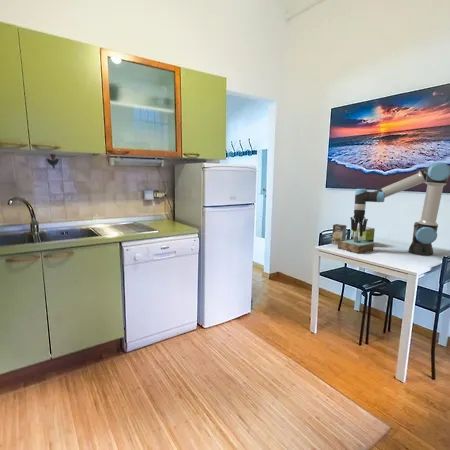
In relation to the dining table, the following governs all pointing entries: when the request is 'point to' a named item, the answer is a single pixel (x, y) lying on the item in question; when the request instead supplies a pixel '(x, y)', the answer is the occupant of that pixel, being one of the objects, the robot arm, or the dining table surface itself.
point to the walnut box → (354, 247)
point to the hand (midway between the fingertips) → (357, 239)
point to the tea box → (365, 234)
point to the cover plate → (358, 242)
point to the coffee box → (338, 233)
